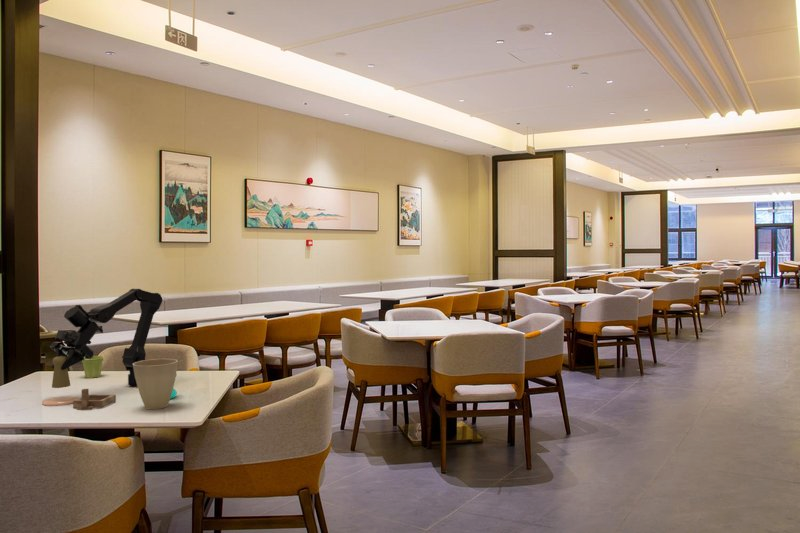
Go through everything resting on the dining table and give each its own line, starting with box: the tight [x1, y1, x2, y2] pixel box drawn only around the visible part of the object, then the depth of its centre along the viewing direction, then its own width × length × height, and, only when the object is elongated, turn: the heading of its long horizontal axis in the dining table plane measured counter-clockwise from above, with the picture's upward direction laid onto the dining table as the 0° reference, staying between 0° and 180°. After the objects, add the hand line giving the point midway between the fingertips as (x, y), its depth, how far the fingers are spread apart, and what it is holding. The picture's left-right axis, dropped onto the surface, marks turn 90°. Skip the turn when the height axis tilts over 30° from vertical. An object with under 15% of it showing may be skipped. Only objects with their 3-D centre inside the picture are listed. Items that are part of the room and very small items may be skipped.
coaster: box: [41, 395, 80, 407], centre depth 230 cm, size 12×12×1 cm
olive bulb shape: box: [51, 356, 71, 389], centre depth 230 cm, size 6×6×11 cm
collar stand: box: [72, 388, 117, 411], centre depth 224 cm, size 12×10×7 cm
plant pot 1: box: [81, 355, 105, 379], centre depth 279 cm, size 9×9×9 cm
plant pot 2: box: [133, 358, 179, 410], centre depth 222 cm, size 15×15×16 cm
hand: (57, 368), depth 229 cm, fingers closed on olive bulb shape, 5 cm apart
